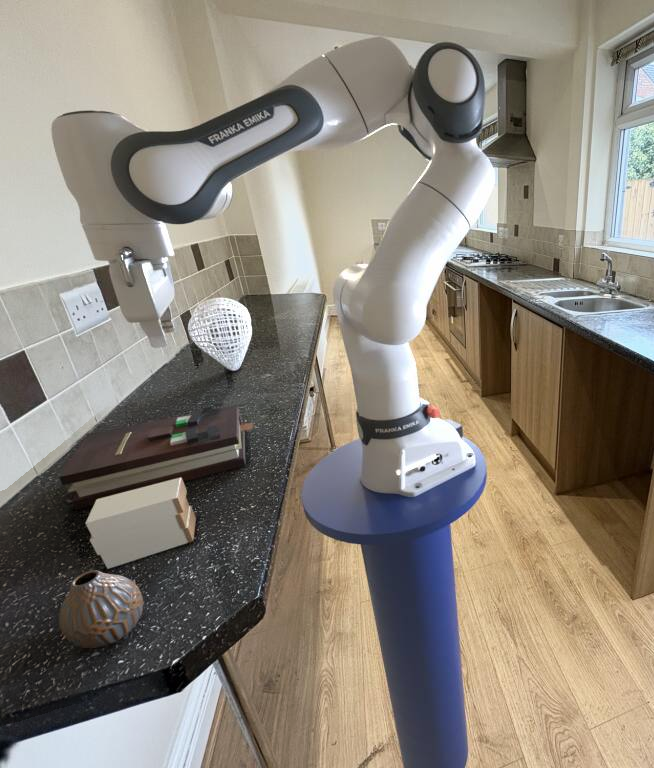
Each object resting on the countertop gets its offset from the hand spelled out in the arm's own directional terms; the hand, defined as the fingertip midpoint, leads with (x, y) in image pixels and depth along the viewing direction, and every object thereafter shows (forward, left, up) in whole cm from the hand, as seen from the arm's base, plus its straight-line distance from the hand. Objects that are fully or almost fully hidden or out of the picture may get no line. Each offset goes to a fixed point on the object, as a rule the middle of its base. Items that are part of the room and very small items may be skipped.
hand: (164, 338), depth 64 cm
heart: (-3, -72, -29) cm, 78 cm away
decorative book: (+8, -15, -29) cm, 34 cm away
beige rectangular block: (+8, +10, -29) cm, 32 cm away
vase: (+10, +26, -29) cm, 40 cm away
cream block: (+8, +10, -24) cm, 27 cm away
